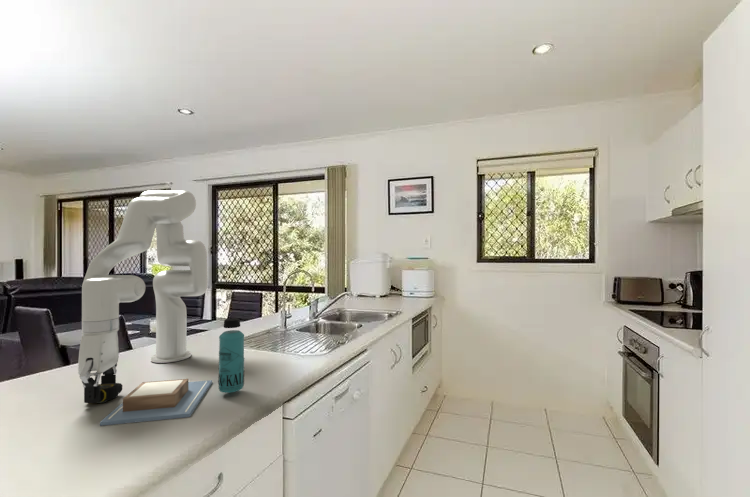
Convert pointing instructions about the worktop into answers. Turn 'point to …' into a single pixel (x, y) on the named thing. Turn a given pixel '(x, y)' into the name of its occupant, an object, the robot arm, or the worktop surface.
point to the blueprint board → (161, 412)
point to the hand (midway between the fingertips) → (100, 395)
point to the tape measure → (109, 391)
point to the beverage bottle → (231, 358)
